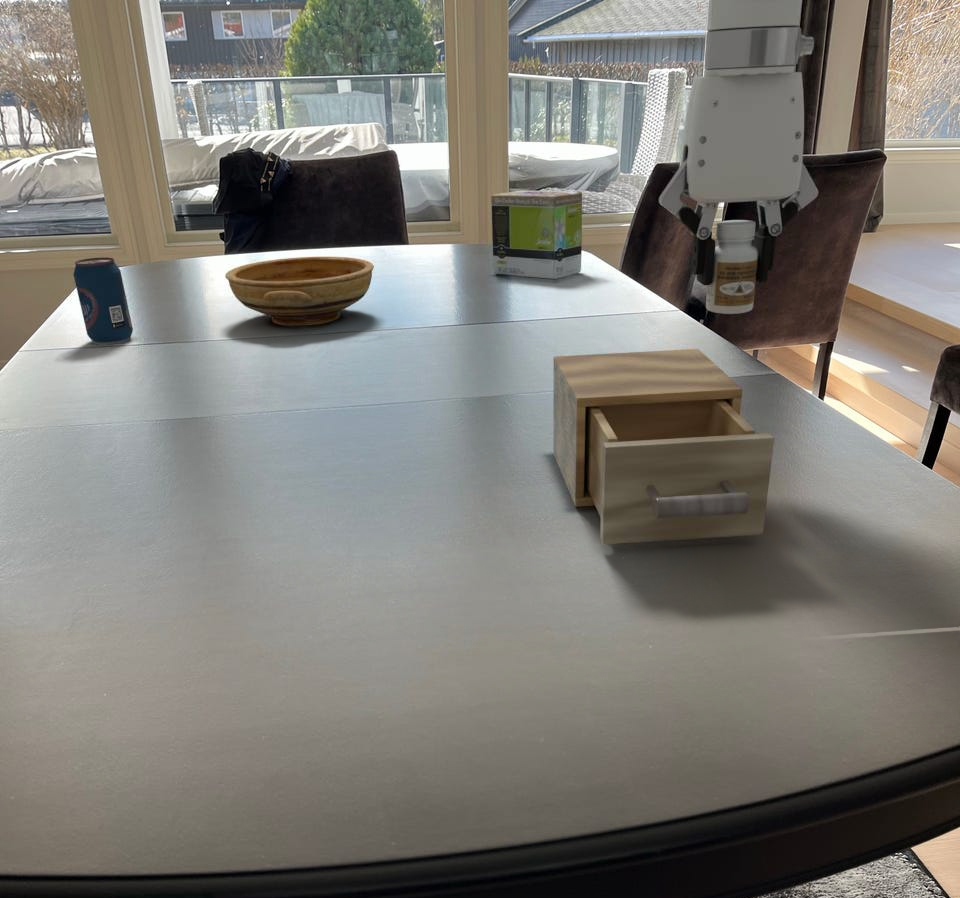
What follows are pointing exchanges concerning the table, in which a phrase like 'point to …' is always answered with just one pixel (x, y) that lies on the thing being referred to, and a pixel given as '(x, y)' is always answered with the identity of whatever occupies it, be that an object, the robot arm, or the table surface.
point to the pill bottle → (733, 268)
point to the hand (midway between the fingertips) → (731, 279)
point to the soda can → (103, 300)
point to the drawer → (675, 471)
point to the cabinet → (625, 396)
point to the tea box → (537, 233)
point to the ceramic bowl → (301, 287)
